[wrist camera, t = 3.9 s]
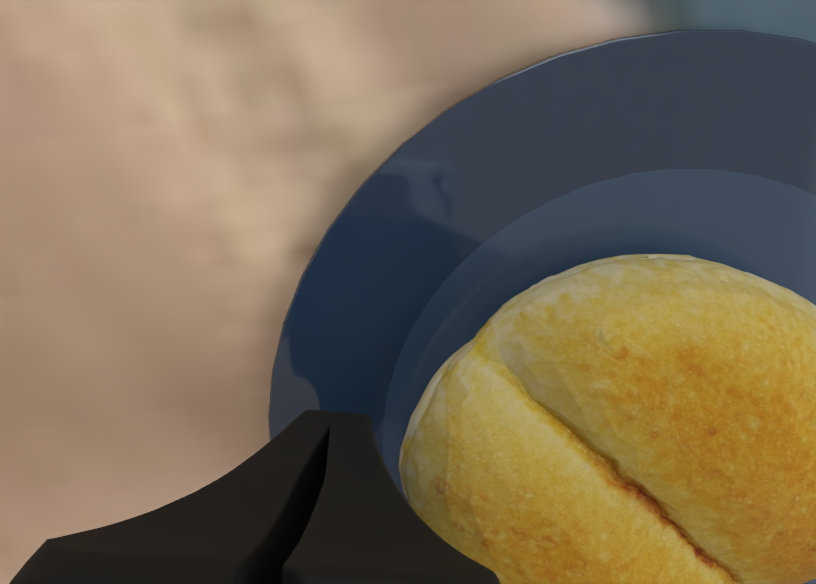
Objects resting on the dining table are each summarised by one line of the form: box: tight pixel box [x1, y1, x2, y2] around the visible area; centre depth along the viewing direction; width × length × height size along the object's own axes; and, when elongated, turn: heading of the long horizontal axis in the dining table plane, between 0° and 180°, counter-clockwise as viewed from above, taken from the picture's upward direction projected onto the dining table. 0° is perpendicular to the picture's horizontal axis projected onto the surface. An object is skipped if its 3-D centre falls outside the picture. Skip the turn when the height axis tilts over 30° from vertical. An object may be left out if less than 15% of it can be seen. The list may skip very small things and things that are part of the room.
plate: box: [268, 30, 816, 584], centre depth 16 cm, size 17×17×1 cm
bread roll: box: [398, 254, 816, 584], centre depth 13 cm, size 8×9×4 cm
